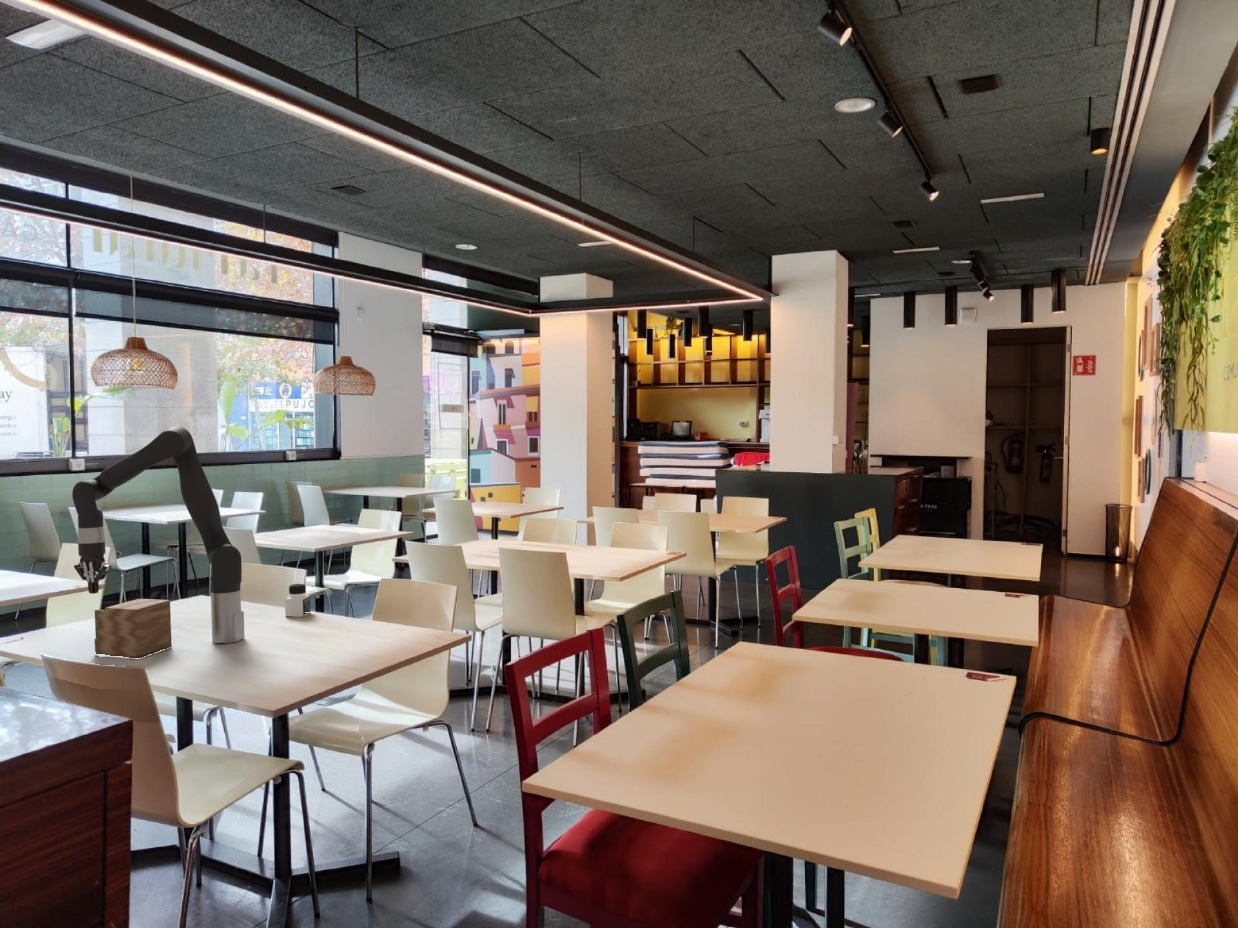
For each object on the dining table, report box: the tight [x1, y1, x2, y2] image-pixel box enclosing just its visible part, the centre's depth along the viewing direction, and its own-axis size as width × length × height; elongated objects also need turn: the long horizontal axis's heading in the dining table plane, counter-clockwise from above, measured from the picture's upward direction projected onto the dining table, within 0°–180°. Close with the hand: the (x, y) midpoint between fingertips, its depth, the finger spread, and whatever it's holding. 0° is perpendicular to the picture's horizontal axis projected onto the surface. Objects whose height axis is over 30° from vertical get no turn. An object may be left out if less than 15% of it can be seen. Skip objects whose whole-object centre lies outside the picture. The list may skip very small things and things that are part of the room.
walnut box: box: [94, 598, 173, 659], centre depth 274 cm, size 16×14×16 cm
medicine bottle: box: [284, 583, 312, 617], centre depth 325 cm, size 7×7×12 cm
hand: (93, 592), depth 277 cm, fingers closed
